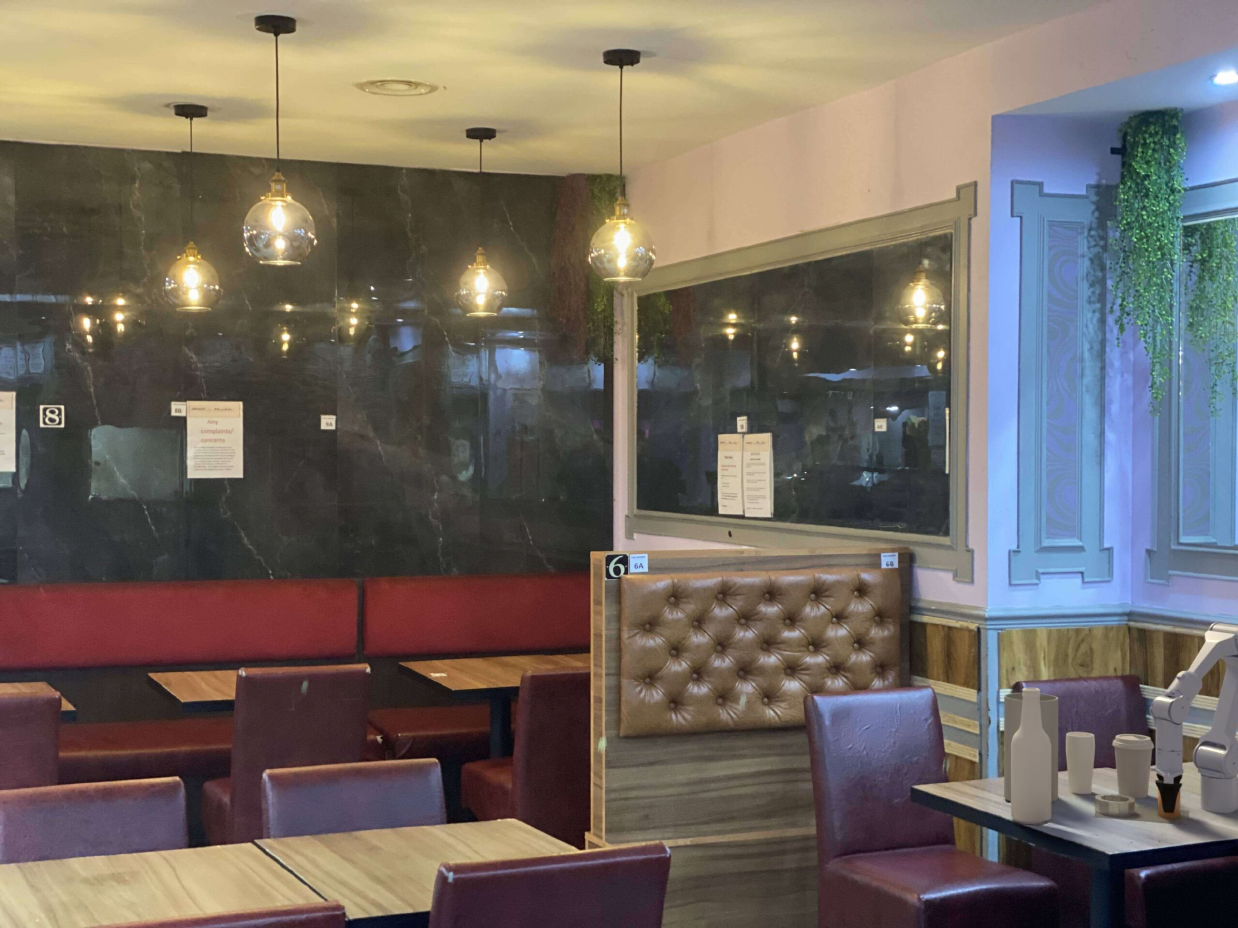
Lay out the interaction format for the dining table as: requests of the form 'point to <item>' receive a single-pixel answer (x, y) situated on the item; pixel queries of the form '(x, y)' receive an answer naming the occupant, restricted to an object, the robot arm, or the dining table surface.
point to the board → (1150, 816)
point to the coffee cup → (1133, 764)
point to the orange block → (1169, 815)
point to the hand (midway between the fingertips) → (1169, 808)
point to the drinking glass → (1080, 761)
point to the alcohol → (1031, 765)
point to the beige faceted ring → (1115, 805)
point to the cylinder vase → (1012, 726)
